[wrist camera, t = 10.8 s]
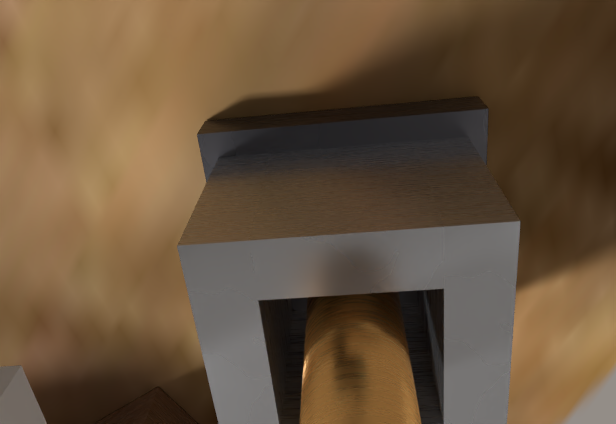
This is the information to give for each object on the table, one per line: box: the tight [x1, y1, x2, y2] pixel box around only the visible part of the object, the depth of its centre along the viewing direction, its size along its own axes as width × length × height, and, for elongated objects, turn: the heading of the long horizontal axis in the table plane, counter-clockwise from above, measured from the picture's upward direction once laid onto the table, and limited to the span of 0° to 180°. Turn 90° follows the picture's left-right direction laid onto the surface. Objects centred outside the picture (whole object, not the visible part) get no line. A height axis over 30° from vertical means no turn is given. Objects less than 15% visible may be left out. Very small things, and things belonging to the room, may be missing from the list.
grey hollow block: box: [177, 137, 520, 424], centre depth 16 cm, size 7×7×5 cm
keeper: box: [197, 96, 488, 424], centre depth 14 cm, size 8×8×10 cm
